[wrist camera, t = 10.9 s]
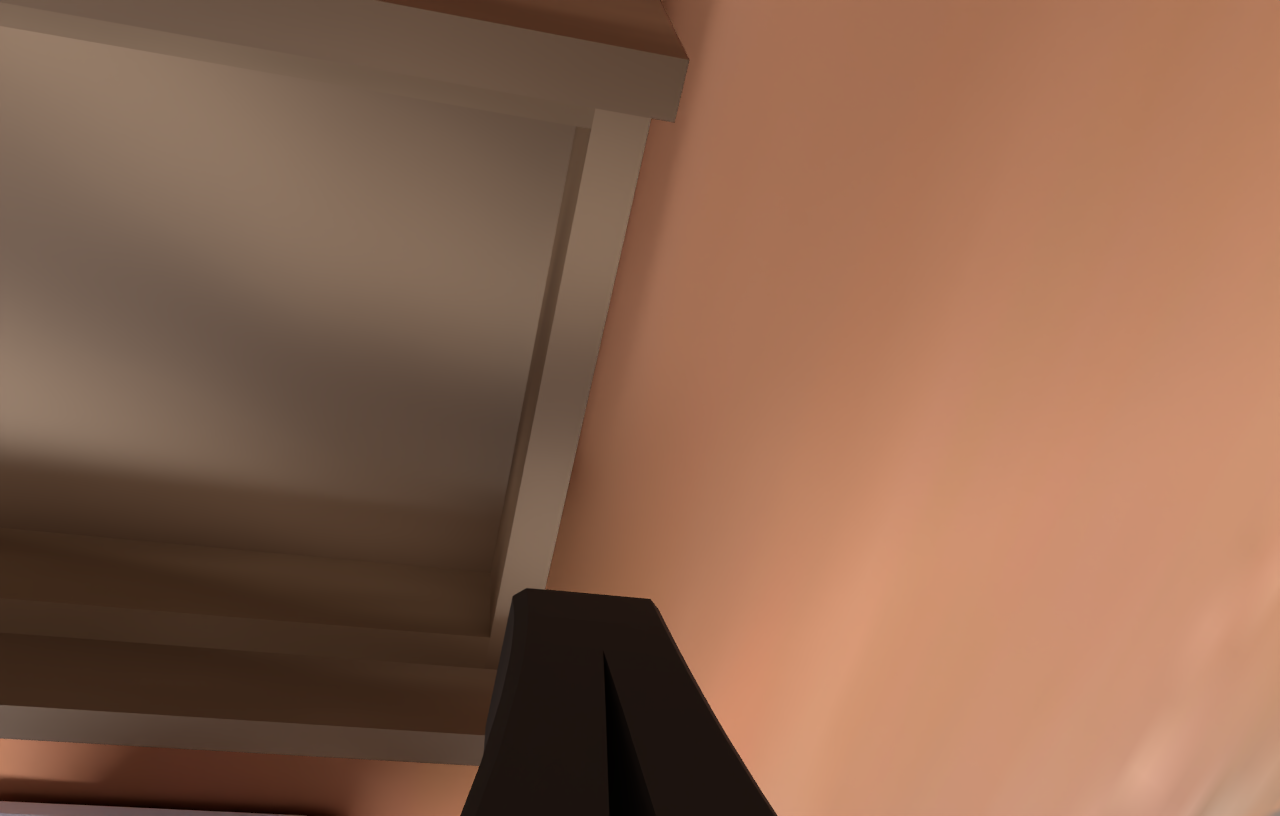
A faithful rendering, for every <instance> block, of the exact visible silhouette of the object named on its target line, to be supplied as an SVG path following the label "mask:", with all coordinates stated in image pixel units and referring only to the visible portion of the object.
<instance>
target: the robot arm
mask: <svg viewBox="0 0 1280 816" xmlns="http://www.w3.org/2000/svg"><path fill="white" fill-rule="evenodd" d="M0 816H305V815H284V814H263V813H242V812H221V811H199V810H178V809H157V808H136V807H115V806H94V805H73V804H51V803H30V802H9V801H0ZM460 816H777V814H776V813H775V811H774V810H773V808H772V807H771V805H770V804H769V802H768V801H767V799H766V797H765V796H764V794H763V793H762V791H761V790H760V788H759V787H758V785H757V783H756V782H755V780H754V779H753V777H752V775H751V774H750V772H749V770H748V769H747V767H746V766H745V764H744V762H743V761H742V759H741V757H740V756H739V754H738V753H737V751H736V749H735V748H734V746H733V745H732V743H731V741H730V740H729V738H728V736H727V735H726V733H725V731H724V730H723V728H722V726H721V725H720V723H719V721H718V719H717V718H716V716H715V714H714V713H713V711H712V709H711V707H710V705H709V704H708V702H707V700H706V698H705V697H704V695H703V693H702V691H701V689H700V688H699V686H698V684H697V682H696V680H695V679H694V677H693V675H692V673H691V671H690V669H689V668H688V666H687V664H686V662H685V660H684V658H683V656H682V654H681V653H680V651H679V649H678V647H677V645H676V643H675V641H674V639H673V637H672V635H671V633H670V631H669V629H668V627H667V625H666V623H665V621H664V619H663V617H662V615H661V613H660V611H659V609H658V608H657V607H656V606H655V604H654V603H653V602H652V601H651V599H644V598H633V597H621V596H610V595H599V594H588V593H577V592H566V591H555V590H544V589H533V588H526V589H524V590H522V591H520V592H519V593H517V594H515V595H513V596H512V601H511V606H510V611H509V616H508V621H507V625H506V630H505V635H504V640H503V645H502V650H501V654H500V659H499V664H498V669H497V674H496V679H495V683H494V688H493V693H492V698H491V703H490V707H489V712H488V717H487V722H486V727H485V741H484V753H483V757H482V760H481V763H480V766H479V769H478V772H477V774H476V777H475V779H474V782H473V785H472V787H471V790H470V792H469V795H468V797H467V800H466V803H465V805H464V808H463V810H462V813H461V815H460Z"/></svg>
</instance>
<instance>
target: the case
mask: <svg viewBox="0 0 1280 816" xmlns="http://www.w3.org/2000/svg"><path fill="white" fill-rule="evenodd" d="M688 64H689V58H688V56H687V54H686V52H685V50H684V48H683V46H682V44H681V42H680V40H679V38H678V36H677V34H676V32H675V30H674V28H673V26H672V23H671V21H670V19H669V17H668V15H667V13H666V11H665V9H664V7H663V5H662V3H661V1H660V0H0V738H4V739H21V740H38V741H56V742H73V743H91V744H108V745H125V746H143V747H160V748H177V749H195V750H212V751H229V752H247V753H264V754H281V755H299V756H316V757H334V758H351V759H368V760H386V761H403V762H420V763H438V764H455V765H472V766H480V763H481V760H482V757H483V753H484V741H485V727H486V722H487V717H488V712H489V707H490V703H491V698H492V693H493V688H494V683H495V679H496V674H497V669H498V664H499V659H500V654H501V650H502V645H503V640H504V635H505V630H506V625H507V621H508V616H509V611H510V606H511V601H512V596H513V595H515V594H517V593H519V592H520V591H522V590H524V589H526V588H533V589H544V590H545V587H546V583H547V578H548V574H549V570H550V565H551V561H552V556H553V552H554V547H555V543H556V539H557V534H558V530H559V525H560V521H561V516H562V512H563V508H564V503H565V499H566V494H567V490H568V485H569V481H570V477H571V472H572V468H573V463H574V459H575V454H576V450H577V446H578V441H579V437H580V432H581V428H582V423H583V419H584V415H585V410H586V406H587V401H588V397H589V392H590V388H591V384H592V379H593V375H594V370H595V366H596V361H597V357H598V353H599V348H600V344H601V339H602V335H603V330H604V326H605V322H606V317H607V313H608V308H609V304H610V299H611V295H612V291H613V286H614V282H615V277H616V273H617V268H618V264H619V260H620V255H621V251H622V246H623V242H624V237H625V233H626V229H627V224H628V220H629V215H630V211H631V206H632V202H633V198H634V193H635V189H636V184H637V180H638V175H639V171H640V167H641V162H642V158H643V153H644V149H645V144H646V140H647V136H648V131H649V127H650V122H651V118H652V119H657V120H663V121H669V122H674V123H675V119H676V114H677V110H678V106H679V102H680V98H681V93H682V89H683V85H684V81H685V76H686V72H687V68H688Z"/></svg>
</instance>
